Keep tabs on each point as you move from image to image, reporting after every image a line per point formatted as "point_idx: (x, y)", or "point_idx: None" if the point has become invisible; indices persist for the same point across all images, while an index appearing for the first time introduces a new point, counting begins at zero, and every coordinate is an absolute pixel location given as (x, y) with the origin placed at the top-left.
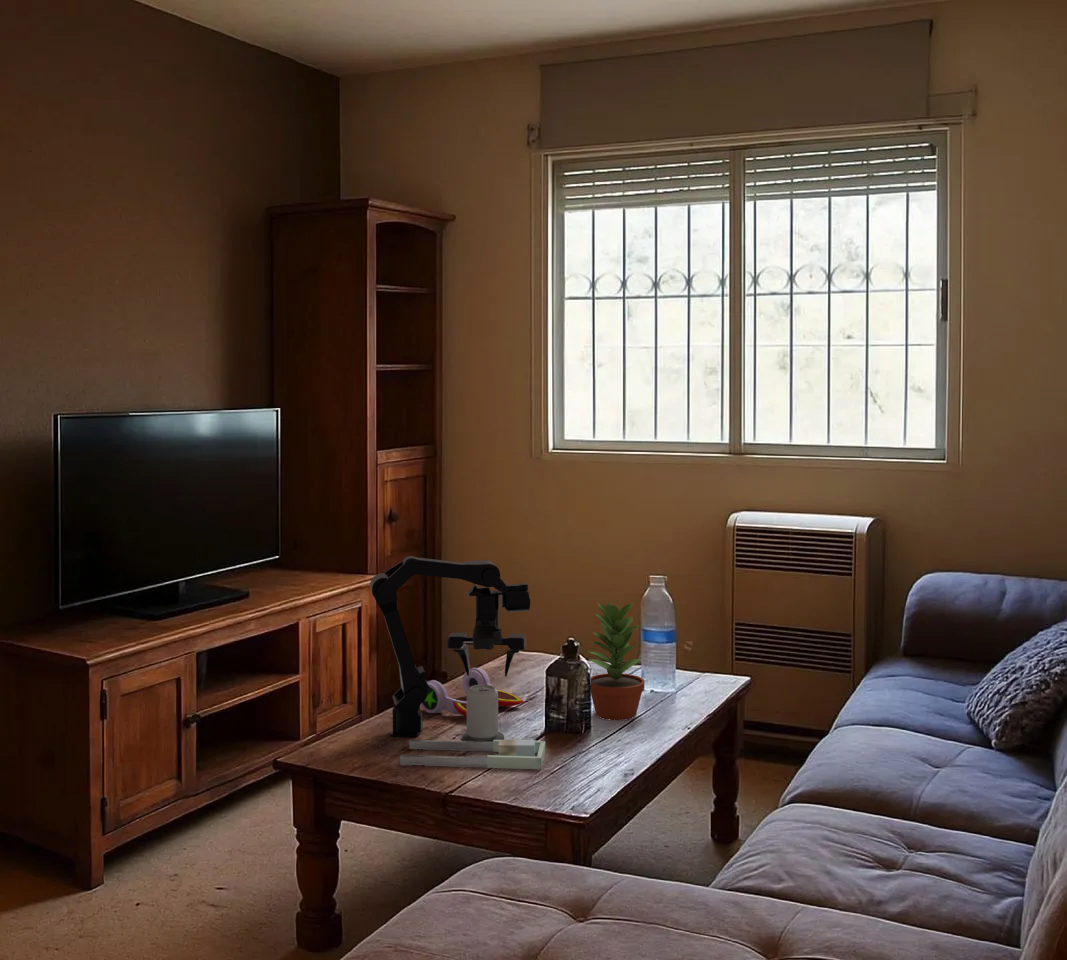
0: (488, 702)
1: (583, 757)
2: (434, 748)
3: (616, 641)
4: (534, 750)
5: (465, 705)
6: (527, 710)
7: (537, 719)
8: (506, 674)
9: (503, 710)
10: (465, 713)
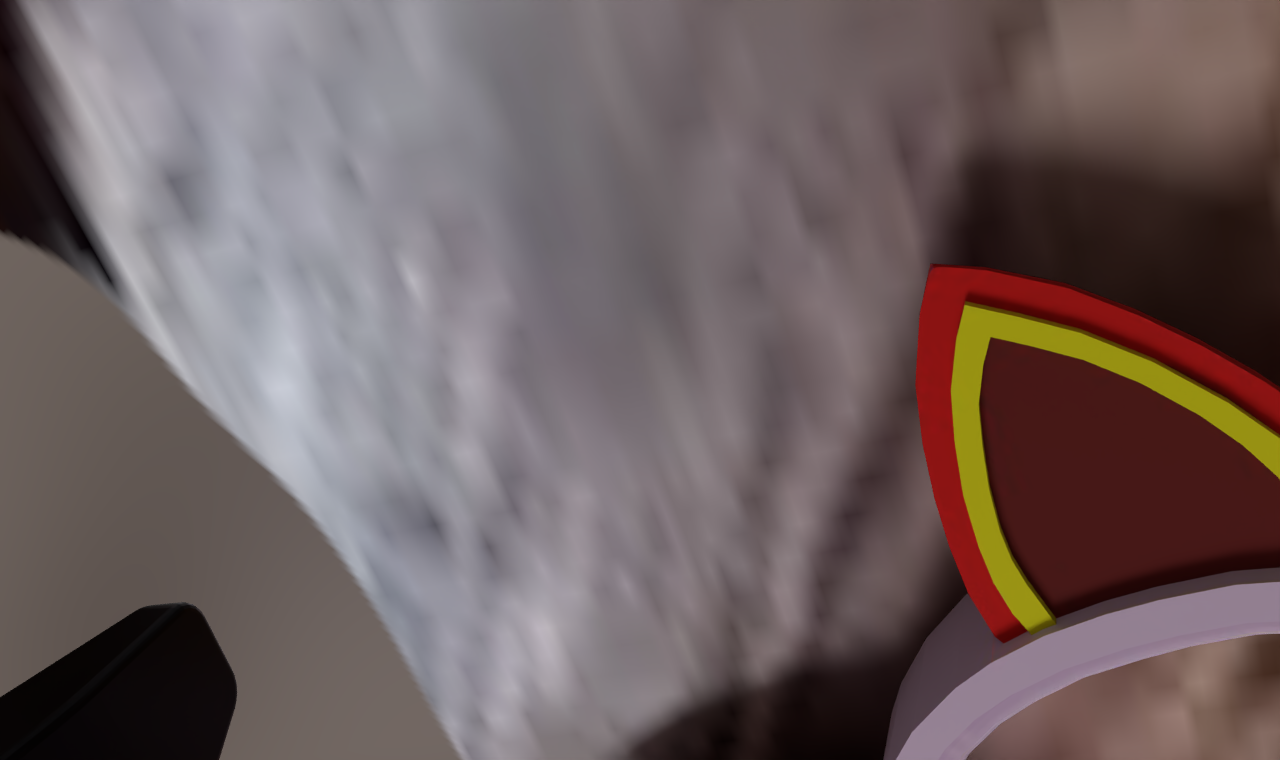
0: None
1: None
2: None
3: None
4: None
5: (1223, 538)
6: (548, 757)
7: (335, 536)
8: (105, 636)
9: (782, 727)
10: (1175, 329)
